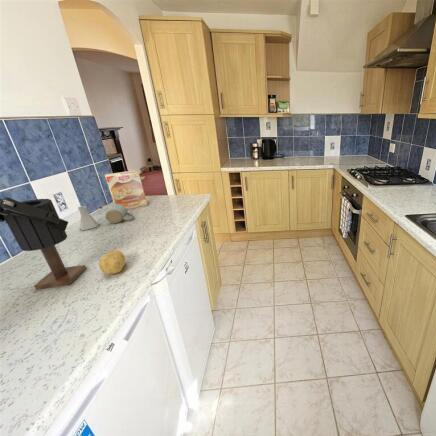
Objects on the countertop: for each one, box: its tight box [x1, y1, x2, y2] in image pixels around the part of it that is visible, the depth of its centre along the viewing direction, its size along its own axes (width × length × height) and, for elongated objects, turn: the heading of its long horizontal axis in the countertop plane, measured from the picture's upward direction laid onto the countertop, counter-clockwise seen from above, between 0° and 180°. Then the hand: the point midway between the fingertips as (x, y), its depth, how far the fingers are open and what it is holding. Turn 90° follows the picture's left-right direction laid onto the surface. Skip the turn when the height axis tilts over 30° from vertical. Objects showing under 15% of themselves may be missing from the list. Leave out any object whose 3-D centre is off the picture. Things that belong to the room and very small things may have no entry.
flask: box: [77, 205, 100, 231], centre depth 112 cm, size 7×7×10 cm
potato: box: [98, 249, 127, 275], centre depth 80 cm, size 7×11×6 cm, turn 22°
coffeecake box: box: [104, 169, 148, 210], centre depth 134 cm, size 15×7×20 cm, turn 132°
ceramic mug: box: [105, 203, 135, 224], centre depth 119 cm, size 11×8×8 cm
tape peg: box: [33, 244, 87, 290], centre depth 74 cm, size 9×9×16 cm
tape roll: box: [3, 198, 68, 252], centre depth 70 cm, size 10×10×12 cm
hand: (49, 225), depth 73 cm, fingers closed on tape roll, 10 cm apart
